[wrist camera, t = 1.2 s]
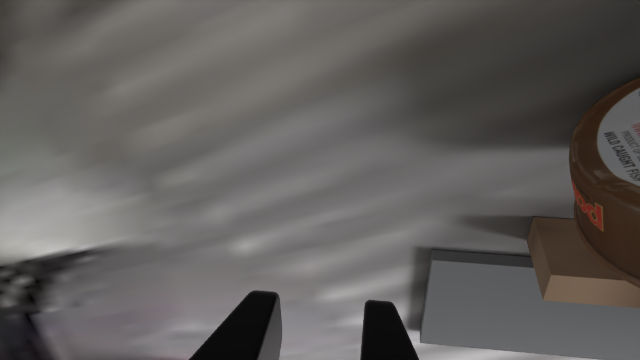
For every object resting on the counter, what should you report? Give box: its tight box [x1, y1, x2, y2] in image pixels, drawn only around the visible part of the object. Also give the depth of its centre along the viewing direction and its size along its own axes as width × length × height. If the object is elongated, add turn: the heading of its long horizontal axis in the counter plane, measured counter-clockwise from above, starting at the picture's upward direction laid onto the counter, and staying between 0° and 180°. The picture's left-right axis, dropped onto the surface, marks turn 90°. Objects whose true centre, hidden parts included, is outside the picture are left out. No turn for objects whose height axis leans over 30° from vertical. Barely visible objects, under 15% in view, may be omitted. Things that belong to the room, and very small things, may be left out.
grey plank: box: [420, 250, 640, 360], centre depth 22 cm, size 16×5×1 cm, turn 91°
